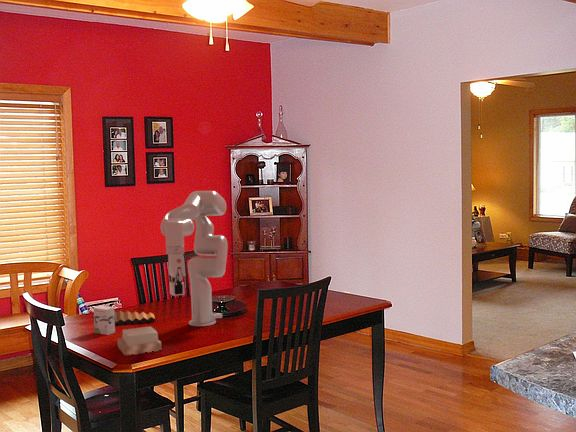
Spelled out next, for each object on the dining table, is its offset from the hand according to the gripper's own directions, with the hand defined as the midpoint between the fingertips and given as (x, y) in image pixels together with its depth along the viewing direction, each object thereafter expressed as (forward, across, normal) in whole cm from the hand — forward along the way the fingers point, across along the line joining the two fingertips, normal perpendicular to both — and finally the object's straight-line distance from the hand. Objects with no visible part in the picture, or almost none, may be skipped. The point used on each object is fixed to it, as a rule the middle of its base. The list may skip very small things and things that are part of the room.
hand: (177, 292), depth 291 cm
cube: (+1, 0, 0) cm, 1 cm away
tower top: (+18, -1, +16) cm, 25 cm away
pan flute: (+22, +56, +10) cm, 61 cm away
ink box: (+22, +34, +25) cm, 47 cm away
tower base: (+22, 0, +17) cm, 28 cm away
